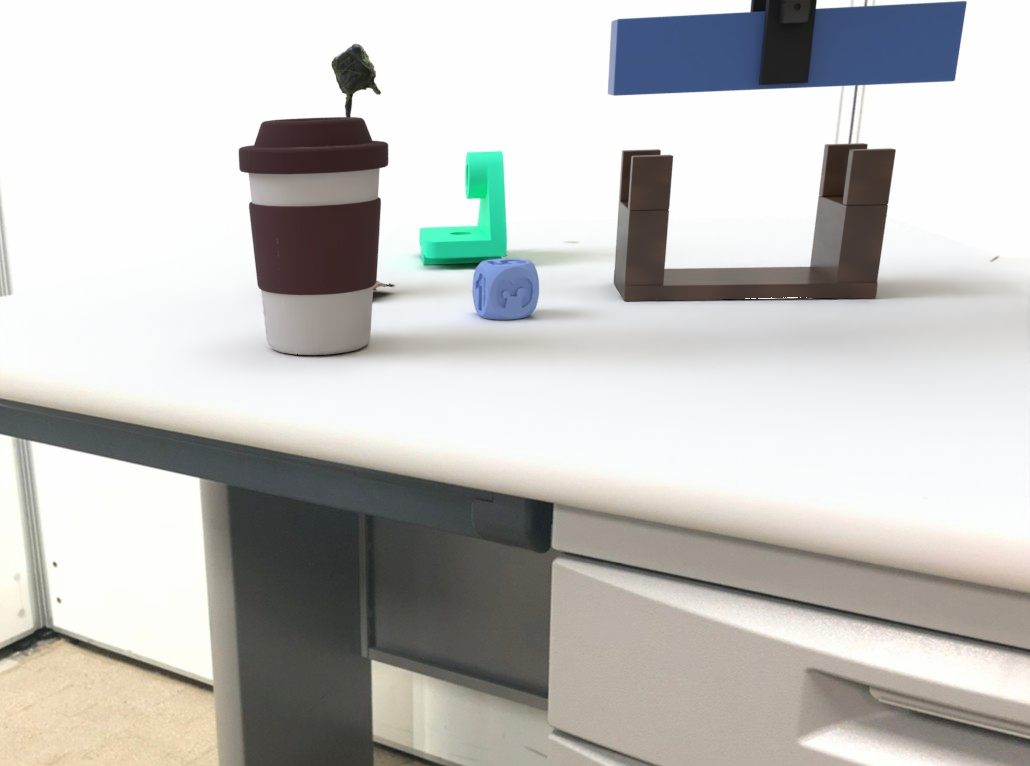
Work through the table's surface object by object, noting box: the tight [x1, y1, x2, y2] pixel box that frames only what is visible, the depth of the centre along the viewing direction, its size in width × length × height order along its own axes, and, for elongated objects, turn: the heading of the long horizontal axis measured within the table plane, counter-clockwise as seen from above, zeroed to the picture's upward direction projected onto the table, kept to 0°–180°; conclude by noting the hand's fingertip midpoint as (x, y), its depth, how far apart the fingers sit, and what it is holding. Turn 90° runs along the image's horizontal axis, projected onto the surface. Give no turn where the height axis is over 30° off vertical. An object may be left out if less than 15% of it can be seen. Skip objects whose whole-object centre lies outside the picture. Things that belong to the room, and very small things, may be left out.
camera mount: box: [419, 150, 508, 266], centre depth 118 cm, size 12×8×10 cm, turn 178°
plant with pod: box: [331, 43, 395, 292], centre depth 100 cm, size 8×11×20 cm
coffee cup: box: [238, 116, 389, 356], centre depth 81 cm, size 10×10×15 cm
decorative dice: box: [472, 258, 540, 321], centre depth 91 cm, size 4×4×4 cm
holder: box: [613, 142, 897, 302], centre depth 96 cm, size 19×9×11 cm, turn 81°
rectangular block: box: [607, 0, 968, 97], centre depth 74 cm, size 20×4×4 cm, turn 82°
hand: (774, 82), depth 75 cm, fingers closed on rectangular block, 4 cm apart
